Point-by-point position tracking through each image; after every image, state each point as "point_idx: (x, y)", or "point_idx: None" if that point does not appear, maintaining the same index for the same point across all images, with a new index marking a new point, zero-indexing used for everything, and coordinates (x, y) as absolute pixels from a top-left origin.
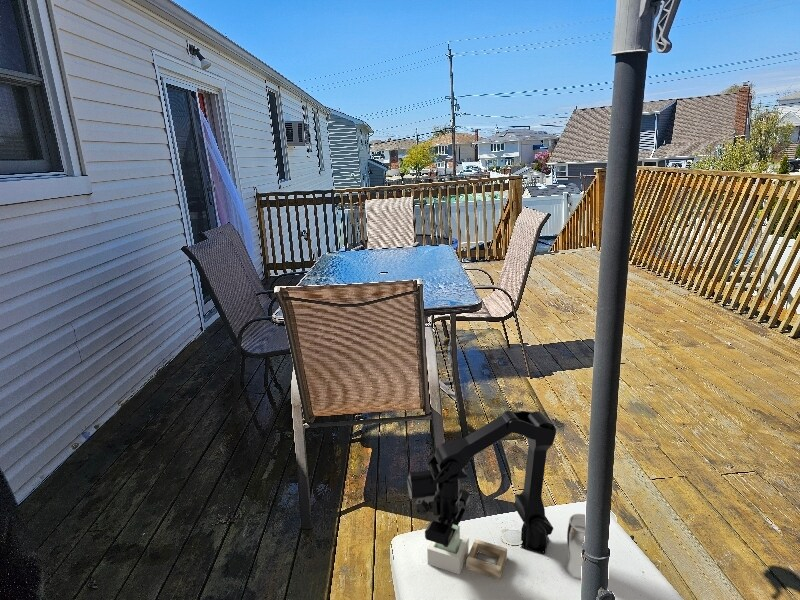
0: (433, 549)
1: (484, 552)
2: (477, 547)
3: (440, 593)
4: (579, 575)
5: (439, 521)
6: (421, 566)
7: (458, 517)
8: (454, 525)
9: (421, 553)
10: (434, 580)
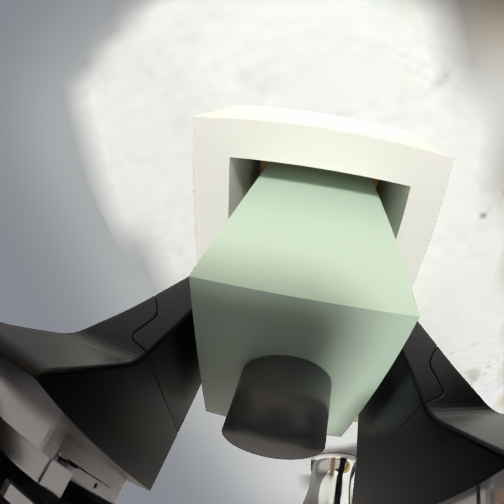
0: (203, 167)
1: None
2: None
3: (120, 211)
4: (311, 466)
5: (16, 487)
6: (210, 80)
7: (360, 499)
8: (345, 414)
9: (303, 48)
10: (159, 170)
